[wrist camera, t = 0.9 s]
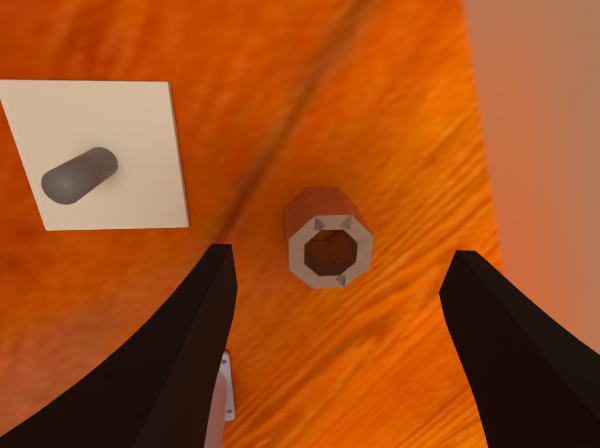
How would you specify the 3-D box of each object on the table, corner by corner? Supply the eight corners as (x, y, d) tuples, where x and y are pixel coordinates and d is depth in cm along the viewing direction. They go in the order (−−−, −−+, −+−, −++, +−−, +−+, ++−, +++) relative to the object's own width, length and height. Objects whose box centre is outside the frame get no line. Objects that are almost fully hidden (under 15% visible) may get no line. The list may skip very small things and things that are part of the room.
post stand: (189, 223, 26) (171, 263, 21) (50, 226, 25) (-4, 269, 20) (170, 81, 22) (140, 88, 16) (0, 79, 21) (-85, 86, 16)
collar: (351, 250, 28) (367, 286, 24) (285, 252, 28) (288, 289, 23) (357, 187, 26) (376, 214, 21) (285, 188, 25) (288, 216, 21)
